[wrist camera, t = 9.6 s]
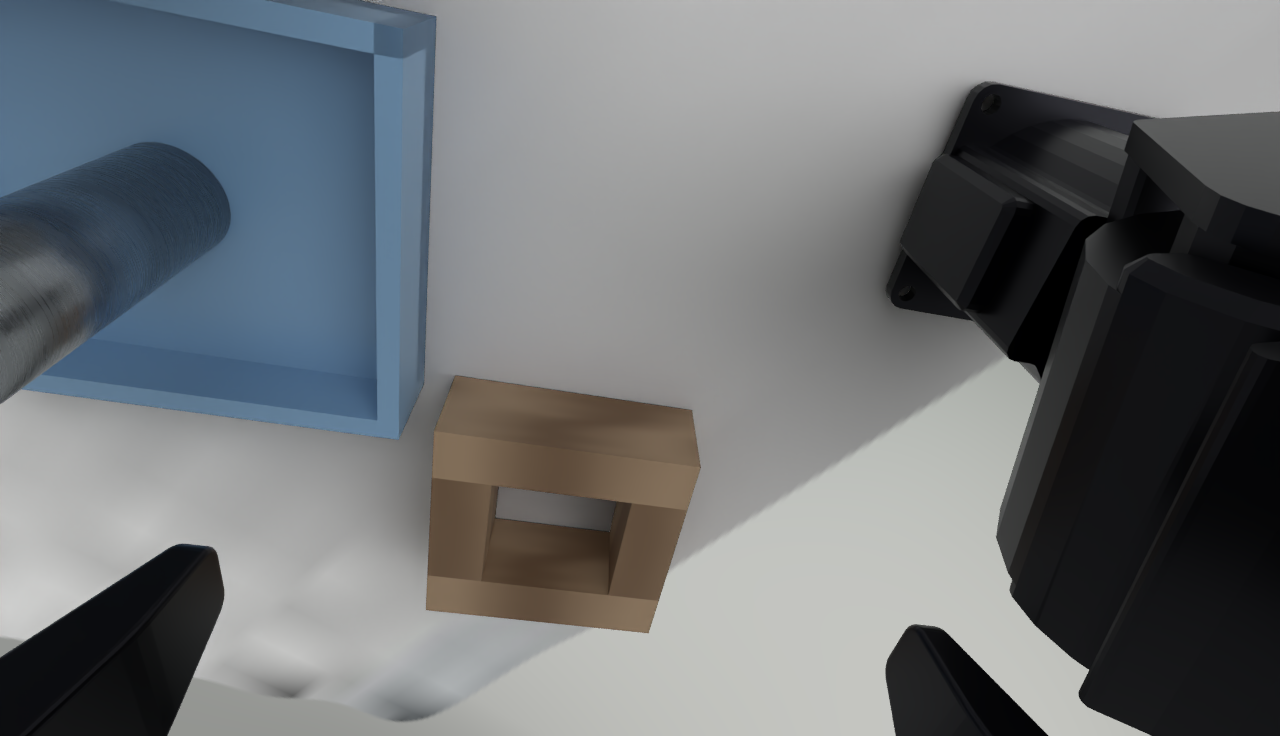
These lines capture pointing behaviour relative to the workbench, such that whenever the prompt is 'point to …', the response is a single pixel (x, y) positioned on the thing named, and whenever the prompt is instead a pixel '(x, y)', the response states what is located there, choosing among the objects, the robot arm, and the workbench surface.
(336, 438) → the workbench surface
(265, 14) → the tray
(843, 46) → the workbench surface
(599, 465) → the hole block
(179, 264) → the pin
